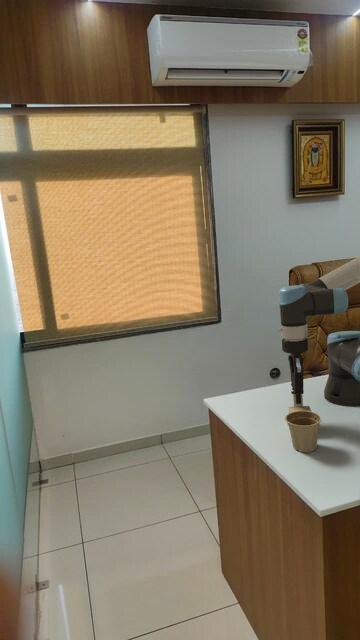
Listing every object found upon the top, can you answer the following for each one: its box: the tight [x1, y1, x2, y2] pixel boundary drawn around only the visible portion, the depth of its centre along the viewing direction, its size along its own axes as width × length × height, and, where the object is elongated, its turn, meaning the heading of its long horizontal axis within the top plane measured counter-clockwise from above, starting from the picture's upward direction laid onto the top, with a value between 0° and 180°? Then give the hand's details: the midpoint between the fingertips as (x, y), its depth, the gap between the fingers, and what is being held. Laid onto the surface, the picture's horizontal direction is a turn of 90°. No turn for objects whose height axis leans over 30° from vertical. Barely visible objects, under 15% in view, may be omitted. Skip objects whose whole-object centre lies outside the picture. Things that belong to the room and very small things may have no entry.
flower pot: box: [284, 411, 322, 453], centre depth 113 cm, size 9×9×9 cm
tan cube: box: [288, 405, 313, 414], centre depth 123 cm, size 6×6×6 cm
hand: (298, 411), depth 127 cm, fingers closed
